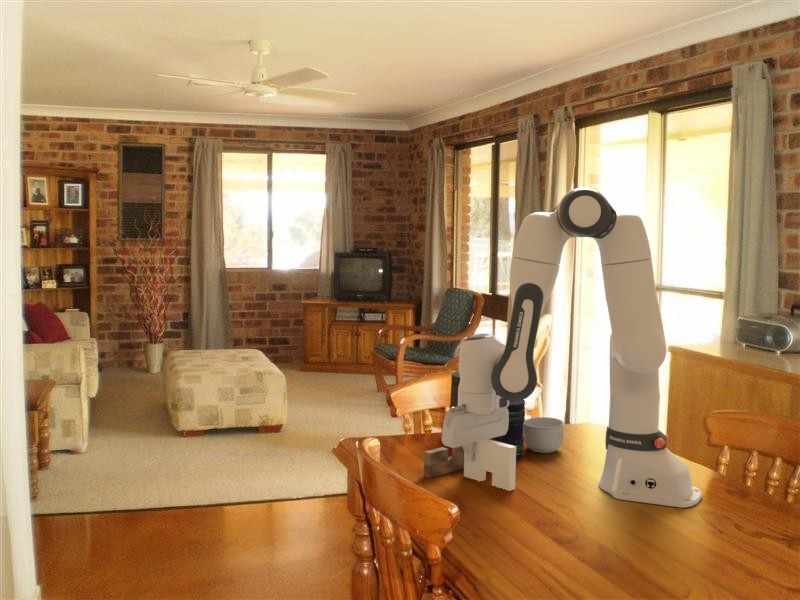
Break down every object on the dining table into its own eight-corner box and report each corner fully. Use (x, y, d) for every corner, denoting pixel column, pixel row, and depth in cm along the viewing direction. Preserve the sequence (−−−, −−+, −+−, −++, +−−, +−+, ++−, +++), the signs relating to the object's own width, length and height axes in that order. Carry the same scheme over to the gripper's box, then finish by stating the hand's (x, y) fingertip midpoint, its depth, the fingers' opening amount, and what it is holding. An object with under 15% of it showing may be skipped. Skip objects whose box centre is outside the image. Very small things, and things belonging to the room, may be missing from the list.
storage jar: (528, 454, 216) (530, 399, 215) (516, 464, 208) (518, 406, 206) (493, 449, 221) (495, 394, 219) (479, 458, 212) (481, 401, 211)
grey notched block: (468, 463, 207) (469, 440, 207) (474, 465, 206) (475, 441, 205) (423, 476, 196) (424, 451, 196) (429, 478, 195) (430, 453, 194)
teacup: (566, 456, 216) (567, 426, 215) (524, 455, 216) (525, 425, 215) (556, 442, 229) (557, 414, 229) (518, 441, 230) (519, 413, 229)
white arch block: (514, 489, 188) (516, 446, 187) (509, 491, 187) (510, 448, 186) (469, 474, 198) (470, 434, 197) (463, 476, 197) (464, 435, 196)
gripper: (456, 410, 184) (454, 470, 186) (513, 398, 198) (512, 454, 200) (436, 405, 189) (434, 464, 190) (493, 394, 203) (492, 448, 204)
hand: (474, 459), depth 195 cm, fingers closed on white arch block, 2 cm apart
